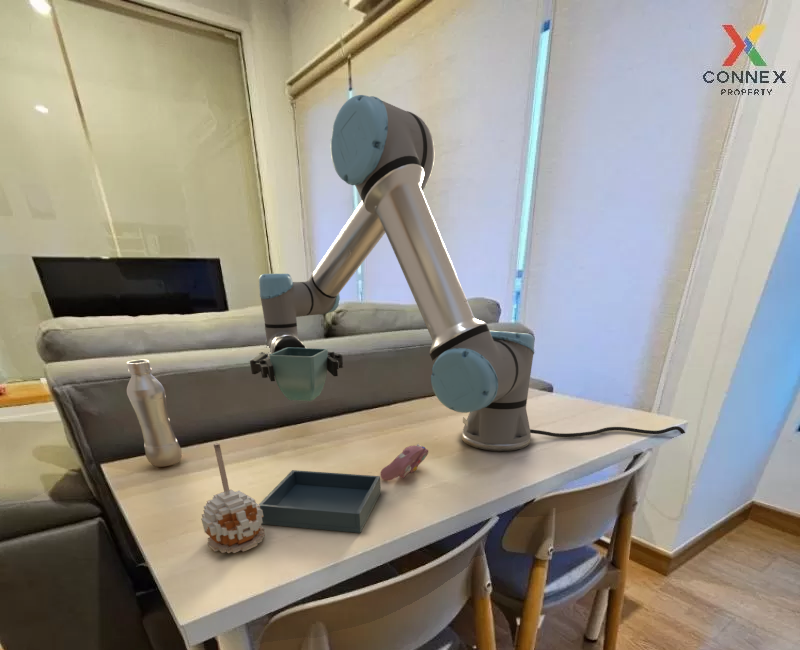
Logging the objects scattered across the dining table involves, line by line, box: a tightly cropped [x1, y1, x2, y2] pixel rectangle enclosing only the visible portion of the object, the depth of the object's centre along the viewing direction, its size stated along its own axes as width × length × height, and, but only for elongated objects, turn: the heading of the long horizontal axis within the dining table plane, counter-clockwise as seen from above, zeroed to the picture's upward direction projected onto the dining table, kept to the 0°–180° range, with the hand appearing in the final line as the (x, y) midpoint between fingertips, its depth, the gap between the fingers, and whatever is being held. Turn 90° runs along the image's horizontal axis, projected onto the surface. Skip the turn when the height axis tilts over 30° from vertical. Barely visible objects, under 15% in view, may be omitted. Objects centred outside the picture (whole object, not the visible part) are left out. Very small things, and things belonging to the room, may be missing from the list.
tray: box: [258, 469, 382, 534], centre depth 76 cm, size 16×14×3 cm
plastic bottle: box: [126, 359, 183, 468], centre depth 89 cm, size 6×7×20 cm
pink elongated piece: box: [379, 443, 429, 481], centre depth 87 cm, size 10×5×7 cm, turn 148°
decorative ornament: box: [200, 443, 266, 554], centre depth 64 cm, size 8×8×15 cm
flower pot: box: [268, 347, 329, 402], centre depth 91 cm, size 9×9×9 cm
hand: (304, 371), depth 87 cm, fingers closed on flower pot, 11 cm apart
